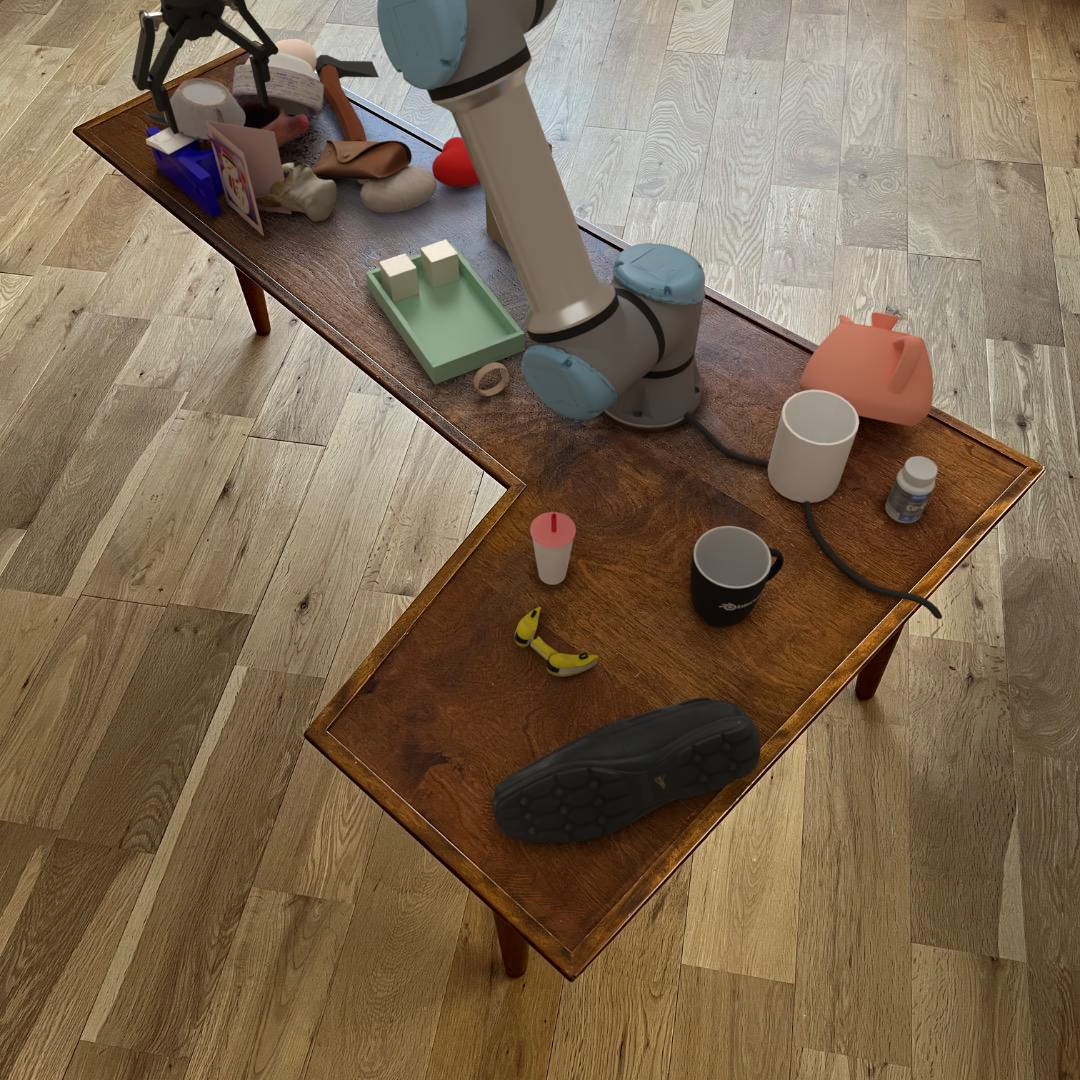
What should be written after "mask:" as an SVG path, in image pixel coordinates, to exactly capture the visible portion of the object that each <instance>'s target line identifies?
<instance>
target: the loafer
mask: <svg viewBox="0 0 1080 1080" xmlns="http://www.w3.org/2000/svg"><path fill="white" fill-rule="evenodd" d="M761 744H762V743H761V736H760V733H759V730H758V727H756V724H755V722H754V721H753V720H752V718H751V717H750V715H749V714H748V713H747V711H745V709H744V708H743V707H742V706H740V705H739V704H737V703H732V702H730V701H727V700H723V699H718V698H710V697H696V698H689V699H686V700H683V701H681V702H679V703H674V704H669V705H666V706H663V707H659V708H656V709H652V710H648V711H646V712H642V713H639V714H635V715H633V716H631V717H627V718H625V719H622V716H618V717H617V718H616V719H615V720H613V721H610V722H609V723H607V724H605V725H603V726H601V727H598V728H596V729H594V730H591V731H589V732H587V733H585V734H583V735H582V736H579V737H578V738H575V739H573V740H570V741H568V742H567V743H564V744H562V745H561V746H559V747H556V748H555V749H553V750H551V751H550V752H548V753H545V754H543V755H542V756H540V757H539V758H537V759H535V760H533V761H532V762H530V763H528V764H527V765H525V766H524V767H521V769H518V770H517V771H515V772H514V773H511V774H510V775H509V776H507V777H506V778H505V779H504V780H502V781H500V782H498V783H497V785H496V786H495V787H494V790H493V792H492V796H491V807H492V813H493V817H494V821H495V824H496V825H497V827H498V829H499V830H500V832H501V833H502V834H505V835H506V836H507V837H509V838H512V839H515V840H519V841H523V842H529V843H536V844H538V843H539V844H571V843H575V842H577V843H578V842H583V841H590V840H594V839H599V838H602V837H607V836H609V835H611V834H613V833H615V832H617V831H619V830H621V829H623V828H625V827H627V826H629V825H631V824H633V823H634V822H636V821H637V820H639V819H641V818H642V817H644V816H646V815H647V814H649V813H650V812H652V811H655V810H656V809H659V808H661V807H663V806H665V805H667V804H670V803H672V802H674V801H677V800H680V799H686V798H692V797H700V796H702V795H703V796H704V795H705V794H706V793H711V792H714V791H718V790H720V789H722V788H724V787H727V786H729V785H732V784H733V783H735V781H737V780H741V779H744V778H745V777H747V776H748V775H749V774H751V773H752V772H753V771H754V770H755V769H756V768H757V766H758V764H759V763H760V759H761V751H762V750H761Z"/></svg>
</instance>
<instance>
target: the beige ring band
mask: <svg viewBox="0 0 1080 1080" xmlns="http://www.w3.org/2000/svg"><path fill="white" fill-rule="evenodd" d="M494 370H500V375H501V379H500V381H499V382H498V383H497V384H496V385H495V386H494V387H492V388H491V387H490V388H489V389H481V388H480V382H481V381H482V379H483V378H484V376H486V374H488V373H489V372H491V371H494ZM510 377H511V376H510V374H509V372H508V369H507V367H506V366H505V365H504V364H503V363H500V362H497V361H495V362H493V363H490V364H487V365H485V366H482V367H480V368H479V370H478V371H477V372H476V374H475V375H474V377H473V385H474V388H475V390H476V392H478V393H479V395H481V396H483V397H493V396H495V395H497V394H499V393H501V392H502V391H503V390H504V389H505V388H506V387H507V386H508V384H510V382H511V378H510Z"/></svg>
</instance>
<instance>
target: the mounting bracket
mask: <svg viewBox="0 0 1080 1080" xmlns="http://www.w3.org/2000/svg"><path fill="white" fill-rule="evenodd" d="M160 131H162V130H161V129H160V128H159V127H157V125H154V126H152V127H149V128H147V129H146V130H145V132H146V135H147V139H148V138H150V137H152V136H153V135H155V134H157V133H159V132H160ZM150 148H151V151H152V154H153V157H154V159H155V163H156V167H157V168H158V170H160V172H162V173H163V174H164V176H166V177H167V178H168V179H169V180H170V181H171V182H172V183H174V184H175V185H176V187H178V188H179V189H180V190H181V191H182V192H183V193H184V194H185V195H186V196H188V197H189V198H190V199H191V200H192V201H193V202H194V203H195V204H196V205H197V206H198V207H199V208H201V210H203V212H205V213H206V214H207V215H208V216H209V217H210V218H212V219H213V218H215V217H217V216H219V215H221V214H222V211H221V206H220V203H219V200H218V195H221V194H222V193H225V192H224V188H223V184H222V181H221V177H220V173H219V169H218V166H217V162H216V158H215V154H214V151H213V148H212V149H208V150H202V148H201V144H200V141H199V140H195V141H193V142H191V143H189V144H187V145H185V146H184V147H182V148H180V149H178V150H176V151H174V152H172V153H171V154H167V153H164V152H162V151H160V150H158V149H156V148H154V147H152V146H150Z"/></svg>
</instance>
